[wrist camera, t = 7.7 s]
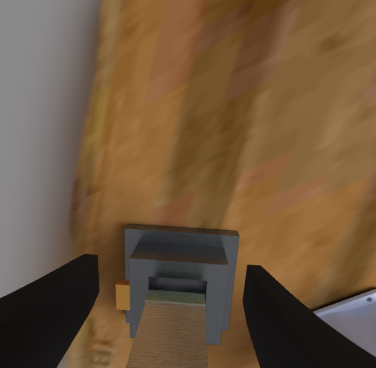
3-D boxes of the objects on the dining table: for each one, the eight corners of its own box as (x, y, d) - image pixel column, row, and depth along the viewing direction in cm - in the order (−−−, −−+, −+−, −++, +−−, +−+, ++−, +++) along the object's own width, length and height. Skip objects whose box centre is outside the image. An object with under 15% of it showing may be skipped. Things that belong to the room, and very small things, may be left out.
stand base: (237, 231, 19) (246, 252, 15) (226, 321, 21) (232, 357, 18) (128, 223, 19) (113, 243, 16) (129, 314, 21) (116, 347, 18)
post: (204, 293, 15) (210, 407, 9) (200, 338, 16) (203, 471, 10) (148, 289, 15) (115, 399, 9) (148, 334, 16) (117, 463, 10)
